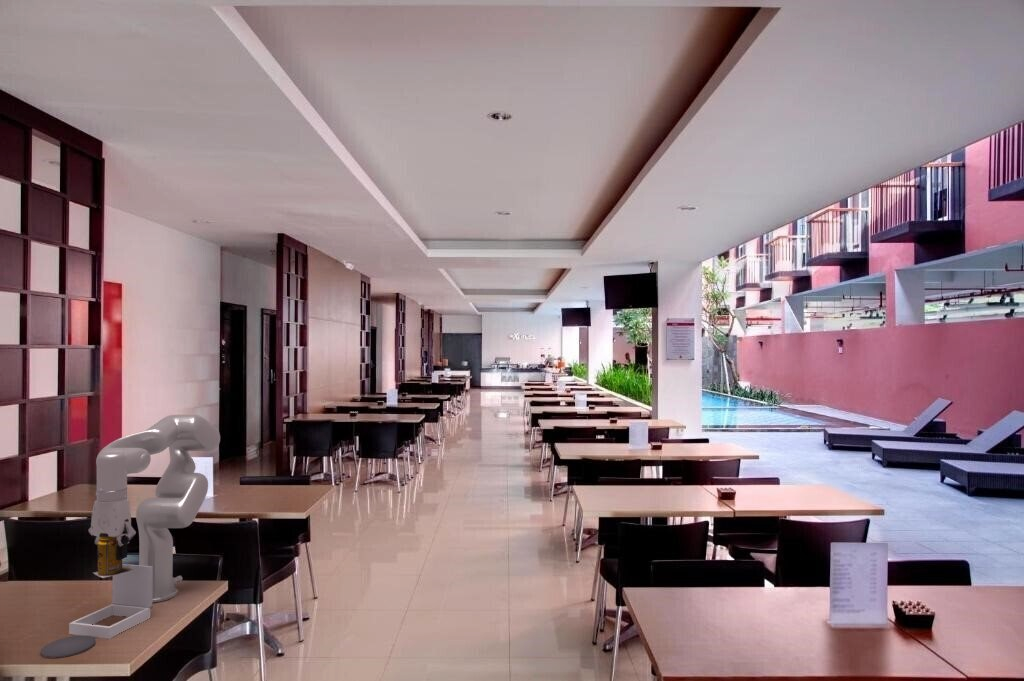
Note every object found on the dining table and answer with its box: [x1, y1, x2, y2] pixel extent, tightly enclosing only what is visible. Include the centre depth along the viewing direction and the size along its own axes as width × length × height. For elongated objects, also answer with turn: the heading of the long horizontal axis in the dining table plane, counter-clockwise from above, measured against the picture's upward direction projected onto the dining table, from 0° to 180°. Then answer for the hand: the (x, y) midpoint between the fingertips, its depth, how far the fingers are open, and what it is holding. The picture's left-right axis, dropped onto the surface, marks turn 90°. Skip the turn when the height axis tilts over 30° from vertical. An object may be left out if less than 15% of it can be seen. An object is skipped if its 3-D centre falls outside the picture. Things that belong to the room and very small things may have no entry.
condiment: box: [92, 533, 134, 579], centre depth 191 cm, size 7×8×12 cm
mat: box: [40, 635, 96, 658], centre depth 176 cm, size 12×12×1 cm
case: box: [68, 563, 153, 640], centre depth 191 cm, size 16×14×15 cm
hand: (112, 557), depth 191 cm, fingers closed on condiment, 6 cm apart
